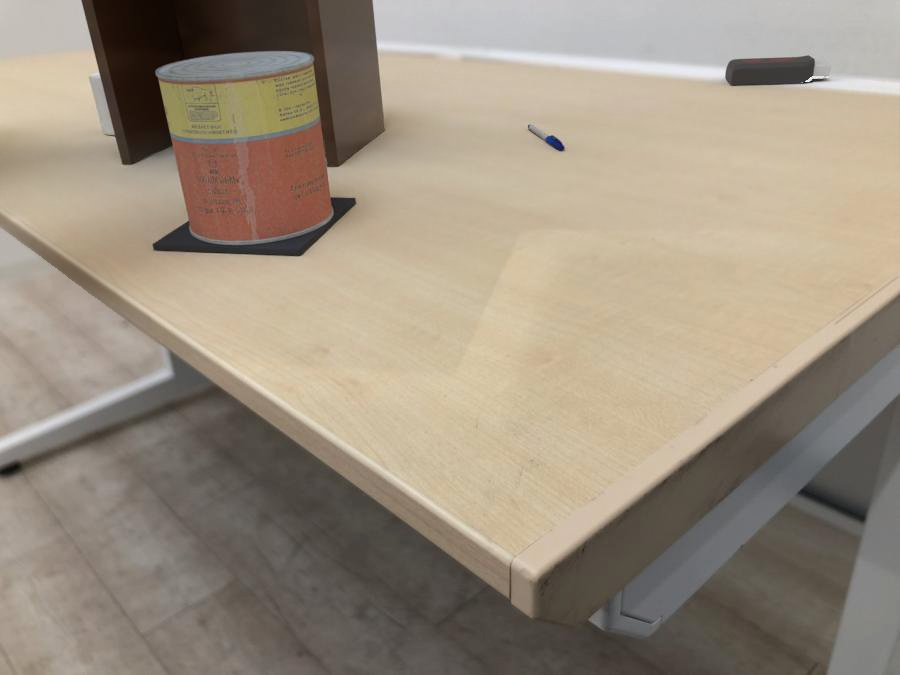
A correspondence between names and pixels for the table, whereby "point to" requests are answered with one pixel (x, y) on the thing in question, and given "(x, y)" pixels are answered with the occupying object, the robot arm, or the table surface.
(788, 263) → the table surface
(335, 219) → the mat
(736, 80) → the usb drive
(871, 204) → the table surface
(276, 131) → the canned food
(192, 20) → the cubby
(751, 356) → the table surface
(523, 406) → the table surface
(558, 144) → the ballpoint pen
